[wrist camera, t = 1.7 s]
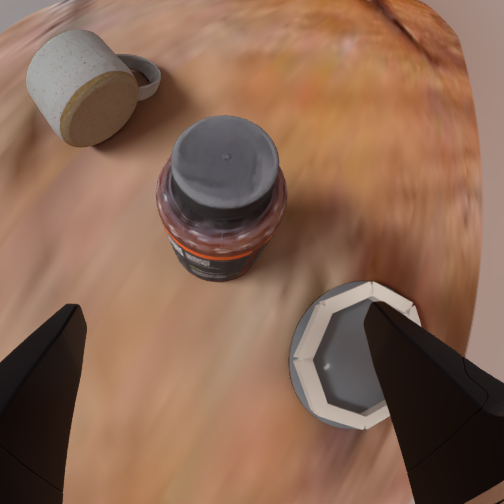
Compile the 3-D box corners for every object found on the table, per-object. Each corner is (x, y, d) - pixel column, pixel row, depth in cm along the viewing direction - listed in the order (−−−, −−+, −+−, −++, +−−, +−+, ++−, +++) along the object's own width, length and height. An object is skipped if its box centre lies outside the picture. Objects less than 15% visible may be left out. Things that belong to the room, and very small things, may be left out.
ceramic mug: (79, 170, 21) (43, 111, 14) (43, 117, 22) (12, 62, 15) (182, 97, 24) (181, 29, 17) (133, 57, 25) (125, -3, 18)
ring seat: (385, 439, 20) (395, 445, 18) (261, 399, 20) (266, 404, 18) (433, 315, 23) (445, 313, 21) (325, 257, 23) (333, 252, 21)
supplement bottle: (251, 196, 23) (288, 92, 12) (266, 276, 22) (327, 224, 11) (169, 206, 22) (143, 104, 11) (179, 289, 21) (150, 248, 10)
